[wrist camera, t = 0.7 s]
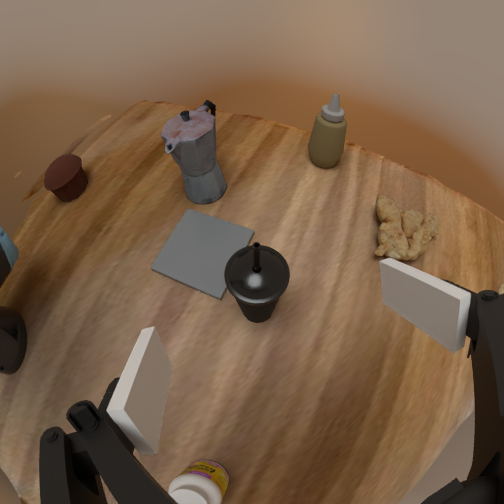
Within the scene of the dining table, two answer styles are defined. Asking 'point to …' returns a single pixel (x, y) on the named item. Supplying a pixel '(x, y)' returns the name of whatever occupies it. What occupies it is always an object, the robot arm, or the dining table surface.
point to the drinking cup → (257, 280)
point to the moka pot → (196, 152)
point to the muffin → (66, 177)
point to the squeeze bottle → (328, 135)
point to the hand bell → (501, 289)
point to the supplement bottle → (200, 484)
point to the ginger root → (403, 231)
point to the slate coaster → (201, 252)
